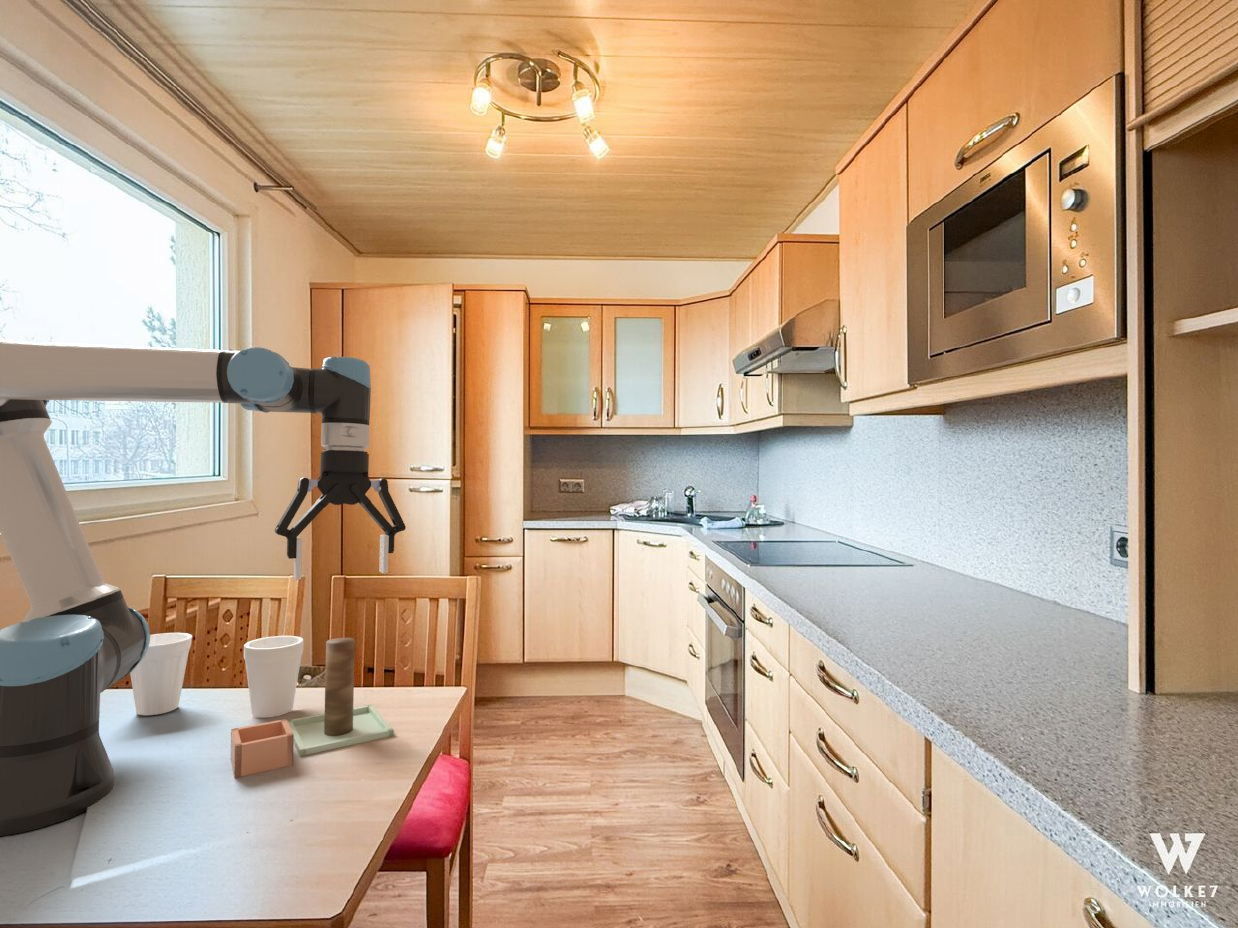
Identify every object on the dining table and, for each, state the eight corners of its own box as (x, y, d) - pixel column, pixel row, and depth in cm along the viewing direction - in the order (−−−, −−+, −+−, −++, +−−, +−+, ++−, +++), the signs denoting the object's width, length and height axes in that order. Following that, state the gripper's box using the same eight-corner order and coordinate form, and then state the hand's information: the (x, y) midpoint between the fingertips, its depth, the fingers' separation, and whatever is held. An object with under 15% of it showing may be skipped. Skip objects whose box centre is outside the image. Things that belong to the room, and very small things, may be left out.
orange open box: (234, 782, 89) (235, 746, 89) (230, 762, 95) (231, 729, 95) (292, 768, 93) (293, 734, 93) (285, 750, 99) (286, 718, 99)
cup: (164, 722, 110) (167, 646, 110) (108, 721, 110) (110, 645, 111) (203, 701, 120) (205, 632, 120) (151, 700, 120) (153, 631, 121)
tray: (299, 759, 96) (299, 749, 96) (286, 729, 108) (286, 720, 108) (393, 738, 104) (393, 729, 104) (371, 712, 116) (371, 704, 116)
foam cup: (275, 726, 109) (277, 650, 109) (229, 721, 111) (231, 647, 111) (312, 707, 118) (314, 637, 118) (269, 702, 120) (271, 634, 120)
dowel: (327, 738, 103) (329, 645, 103) (321, 729, 106) (323, 639, 107) (355, 732, 105) (357, 641, 106) (349, 723, 109) (351, 636, 109)
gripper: (264, 445, 97) (260, 584, 96) (425, 451, 111) (422, 572, 111) (258, 447, 103) (254, 578, 102) (412, 453, 117) (409, 567, 117)
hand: (341, 575), depth 107 cm, fingers open, 13 cm apart
